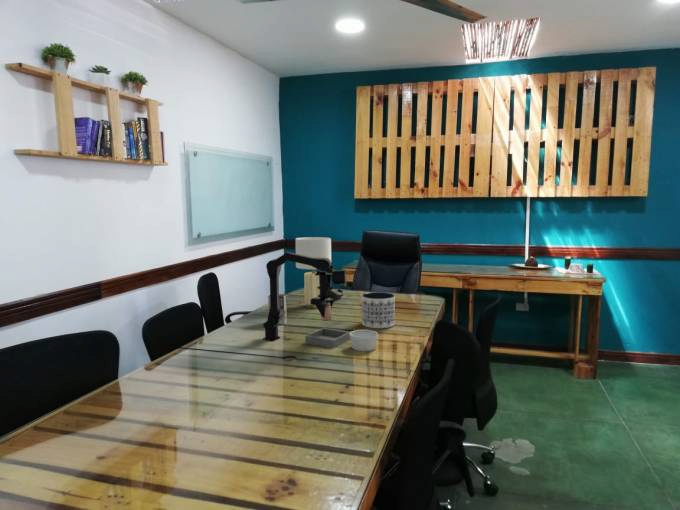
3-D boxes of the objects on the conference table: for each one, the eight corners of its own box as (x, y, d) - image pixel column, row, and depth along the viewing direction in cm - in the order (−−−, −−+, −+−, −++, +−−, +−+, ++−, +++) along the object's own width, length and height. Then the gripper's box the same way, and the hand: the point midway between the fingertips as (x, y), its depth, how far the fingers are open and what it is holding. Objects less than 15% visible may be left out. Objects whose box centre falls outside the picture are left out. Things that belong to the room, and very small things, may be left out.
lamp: (291, 304, 311) (290, 238, 306) (323, 301, 321) (322, 236, 316) (303, 311, 291) (302, 240, 286) (337, 308, 300) (336, 239, 295)
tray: (333, 348, 219) (333, 340, 218) (305, 343, 227) (305, 335, 226) (350, 339, 232) (350, 332, 232) (323, 334, 240) (322, 328, 240)
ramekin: (375, 353, 211) (375, 338, 210) (347, 351, 214) (347, 336, 213) (379, 344, 224) (379, 330, 223) (352, 343, 227) (352, 329, 226)
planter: (394, 320, 268) (394, 292, 266) (394, 329, 250) (395, 298, 248) (362, 320, 270) (362, 292, 268) (360, 328, 252) (360, 298, 250)
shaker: (327, 321, 226) (327, 304, 225) (319, 320, 228) (318, 303, 227) (333, 319, 230) (332, 302, 229) (324, 318, 233) (324, 301, 232)
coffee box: (287, 321, 268) (286, 293, 266) (284, 324, 261) (284, 296, 259) (271, 321, 268) (270, 293, 267) (268, 324, 262) (267, 295, 260)
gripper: (329, 288, 215) (330, 321, 217) (348, 282, 231) (349, 313, 233) (309, 287, 221) (310, 319, 222) (329, 280, 237) (330, 311, 239)
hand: (326, 315), depth 229 cm, fingers closed on shaker, 5 cm apart
